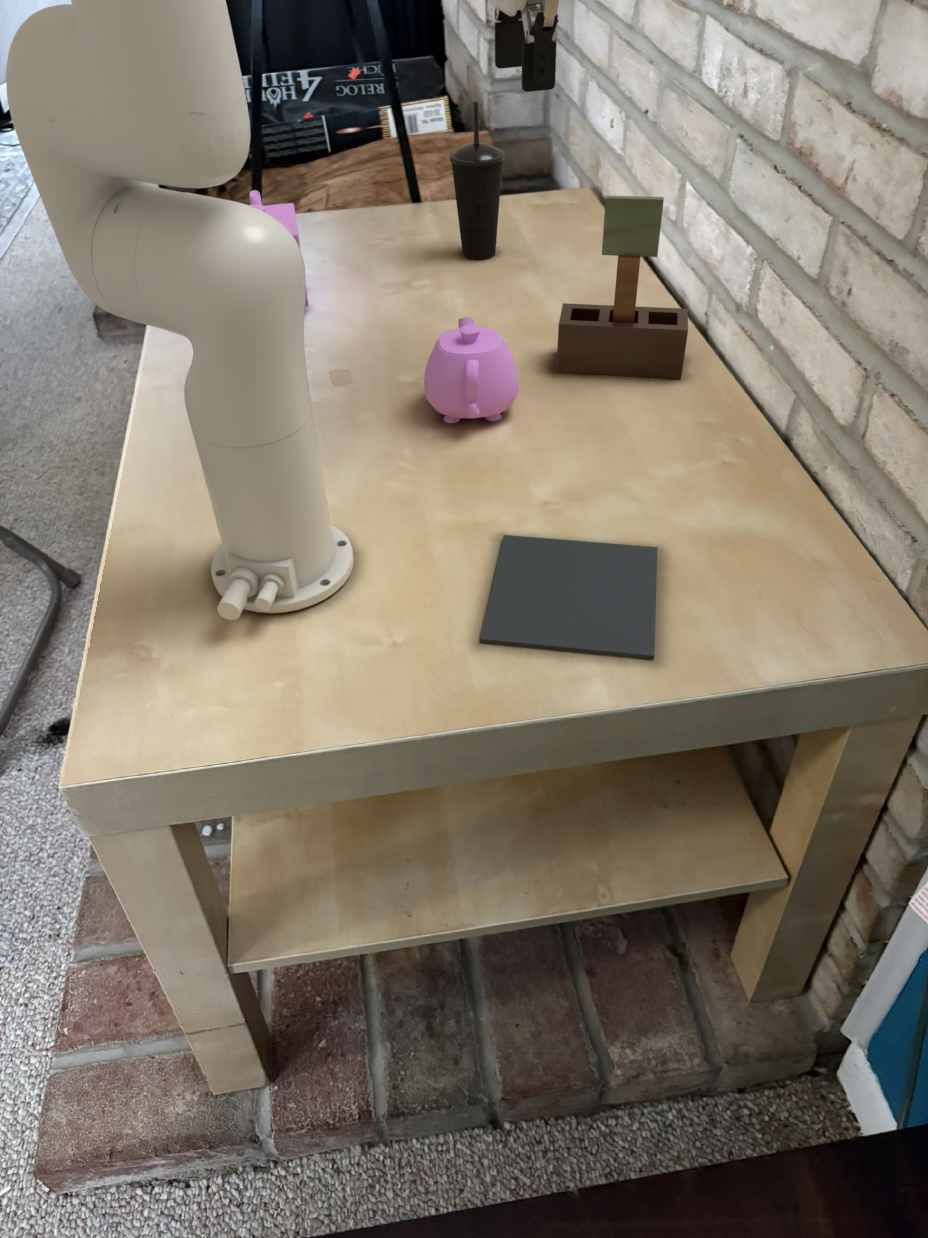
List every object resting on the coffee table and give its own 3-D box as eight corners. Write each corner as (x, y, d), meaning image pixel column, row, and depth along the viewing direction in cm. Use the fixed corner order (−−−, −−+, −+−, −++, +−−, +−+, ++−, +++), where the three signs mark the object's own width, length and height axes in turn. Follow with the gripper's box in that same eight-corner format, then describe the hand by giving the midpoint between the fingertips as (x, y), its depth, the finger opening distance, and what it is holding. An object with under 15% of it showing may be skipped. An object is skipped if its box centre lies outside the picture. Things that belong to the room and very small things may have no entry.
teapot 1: (311, 325, 119) (296, 226, 111) (232, 333, 118) (211, 234, 110) (303, 266, 134) (289, 174, 125) (233, 273, 133) (214, 181, 124)
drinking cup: (444, 249, 137) (437, 99, 123) (490, 240, 139) (489, 91, 125) (466, 267, 132) (461, 112, 118) (513, 257, 134) (514, 104, 120)
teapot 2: (426, 440, 98) (420, 359, 92) (424, 373, 109) (419, 296, 103) (523, 436, 98) (524, 355, 92) (512, 368, 109) (512, 292, 103)
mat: (653, 659, 73) (654, 655, 73) (480, 642, 75) (480, 638, 75) (656, 550, 83) (657, 546, 83) (503, 537, 85) (503, 534, 85)
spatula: (644, 370, 108) (663, 201, 95) (593, 367, 109) (605, 200, 96) (645, 361, 110) (664, 194, 97) (594, 358, 110) (606, 192, 98)
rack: (681, 379, 106) (688, 329, 102) (556, 372, 108) (558, 323, 104) (681, 356, 110) (687, 308, 106) (560, 350, 112) (563, 302, 108)
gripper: (461, -149, 86) (466, 61, 97) (511, -136, 73) (511, 103, 85) (538, -153, 87) (534, 55, 98) (601, -141, 74) (588, 95, 86)
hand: (523, 77), depth 92 cm, fingers open, 9 cm apart
